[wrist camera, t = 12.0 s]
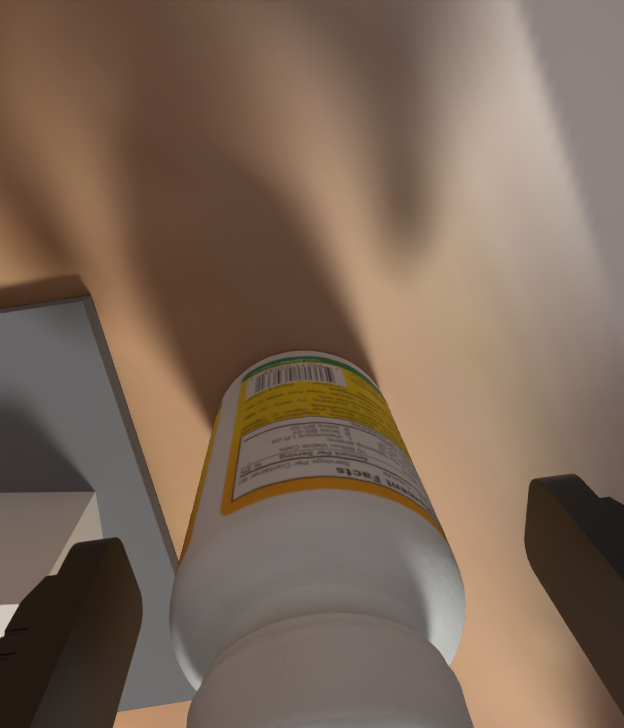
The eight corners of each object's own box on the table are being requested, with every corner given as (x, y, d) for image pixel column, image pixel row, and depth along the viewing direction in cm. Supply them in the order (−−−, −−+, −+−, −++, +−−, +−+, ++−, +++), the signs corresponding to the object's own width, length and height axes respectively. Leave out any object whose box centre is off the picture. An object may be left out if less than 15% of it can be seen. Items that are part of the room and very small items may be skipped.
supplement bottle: (296, 308, 13) (335, 596, 4) (422, 418, 15) (632, 785, 6) (178, 435, 15) (27, 851, 6) (306, 522, 16) (342, 950, 7)
